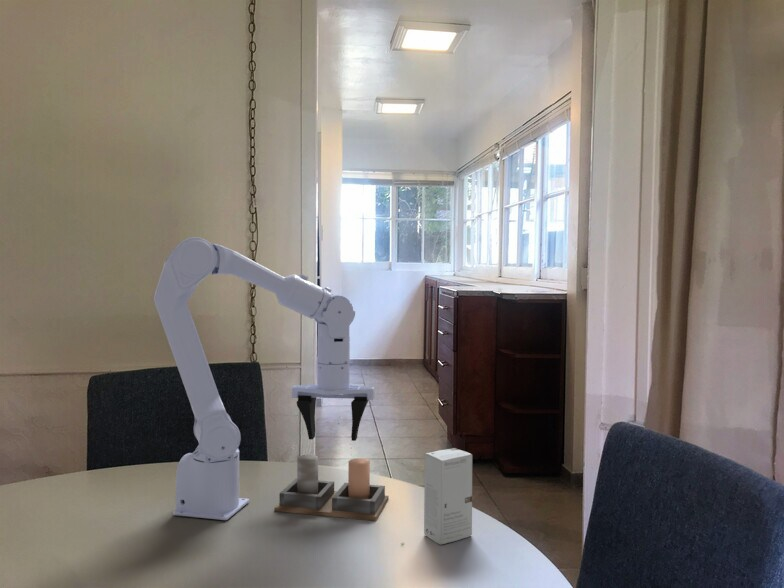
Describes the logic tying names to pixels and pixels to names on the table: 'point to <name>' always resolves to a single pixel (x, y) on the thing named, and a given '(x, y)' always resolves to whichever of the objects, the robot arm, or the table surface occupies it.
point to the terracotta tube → (359, 478)
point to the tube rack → (327, 495)
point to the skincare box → (448, 495)
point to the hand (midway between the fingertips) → (333, 438)
